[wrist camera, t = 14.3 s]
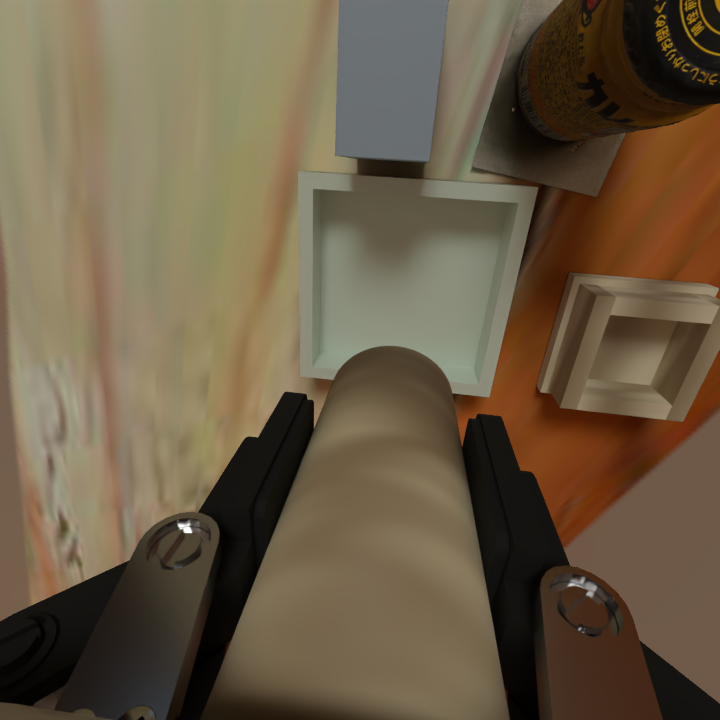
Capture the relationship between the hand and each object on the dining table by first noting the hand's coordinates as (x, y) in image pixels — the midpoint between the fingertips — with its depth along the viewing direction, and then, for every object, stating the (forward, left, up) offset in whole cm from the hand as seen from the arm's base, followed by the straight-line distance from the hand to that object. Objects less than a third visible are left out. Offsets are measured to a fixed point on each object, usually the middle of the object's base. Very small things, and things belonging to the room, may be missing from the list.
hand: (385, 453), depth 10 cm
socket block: (-14, +2, -17) cm, 23 cm away
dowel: (0, 0, -3) cm, 3 cm away
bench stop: (+1, -11, -17) cm, 20 cm away
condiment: (-7, -11, -18) cm, 22 cm away
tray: (0, 0, -17) cm, 17 cm away
